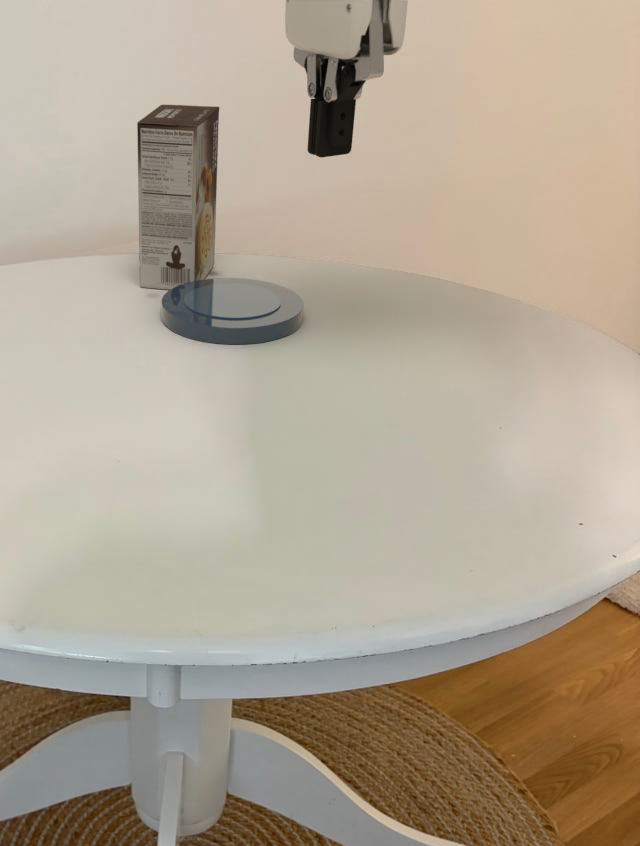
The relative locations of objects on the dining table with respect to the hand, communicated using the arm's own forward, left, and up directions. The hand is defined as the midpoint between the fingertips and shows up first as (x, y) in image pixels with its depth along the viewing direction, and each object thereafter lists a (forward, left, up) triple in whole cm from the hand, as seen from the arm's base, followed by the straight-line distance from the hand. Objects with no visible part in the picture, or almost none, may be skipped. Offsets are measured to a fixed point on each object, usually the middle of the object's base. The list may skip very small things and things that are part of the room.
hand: (329, 153), depth 80 cm
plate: (+11, -4, -17) cm, 21 cm away
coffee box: (+22, -10, -17) cm, 30 cm away
